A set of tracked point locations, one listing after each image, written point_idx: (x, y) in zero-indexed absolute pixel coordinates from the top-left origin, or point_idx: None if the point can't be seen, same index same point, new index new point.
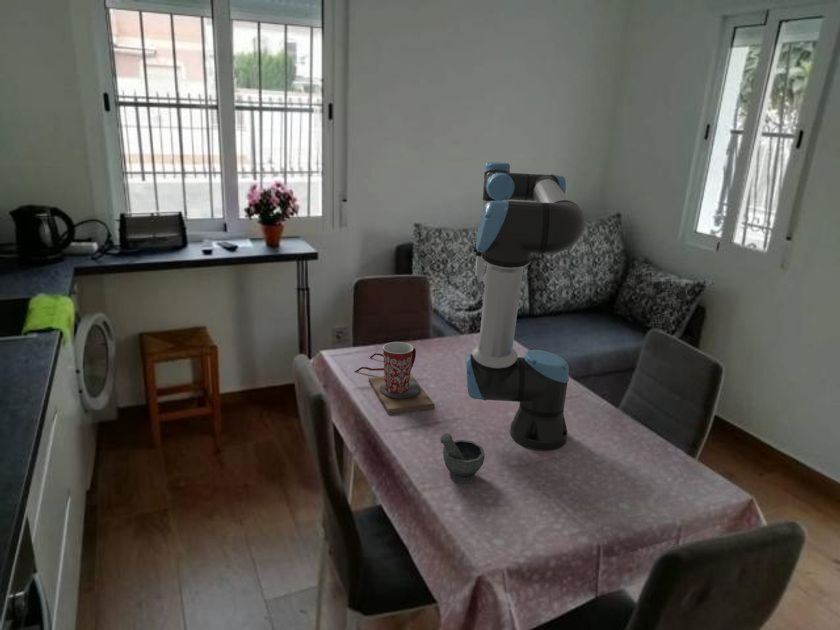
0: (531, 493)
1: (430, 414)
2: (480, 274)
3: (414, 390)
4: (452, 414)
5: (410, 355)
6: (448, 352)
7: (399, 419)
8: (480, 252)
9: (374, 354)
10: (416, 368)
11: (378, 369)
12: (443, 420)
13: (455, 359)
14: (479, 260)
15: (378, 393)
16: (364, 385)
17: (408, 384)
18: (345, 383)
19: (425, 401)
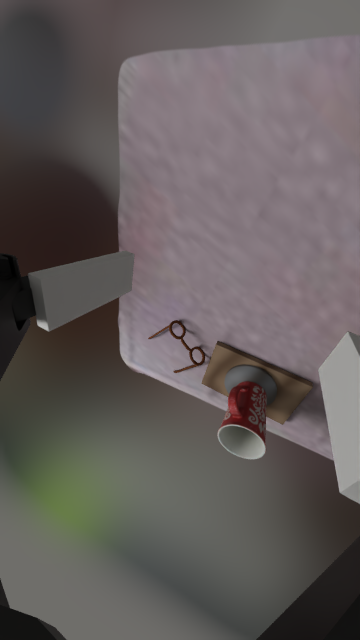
0: None
1: (322, 395)
2: (128, 272)
3: (268, 384)
4: None
5: (264, 436)
6: (170, 236)
7: (303, 422)
8: (16, 329)
9: (149, 338)
10: (197, 316)
11: (191, 367)
12: None
13: (198, 245)
14: (71, 308)
15: None
16: (208, 387)
17: (264, 397)
18: (194, 395)
19: (298, 389)
